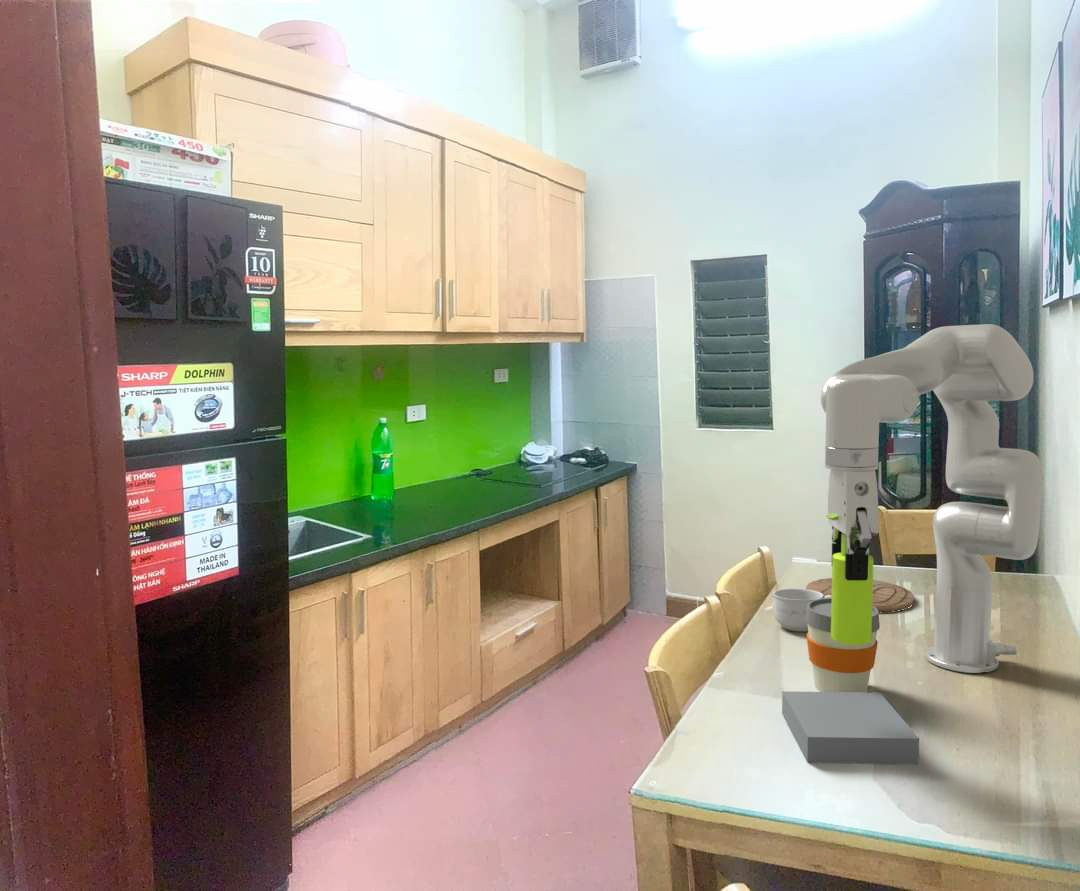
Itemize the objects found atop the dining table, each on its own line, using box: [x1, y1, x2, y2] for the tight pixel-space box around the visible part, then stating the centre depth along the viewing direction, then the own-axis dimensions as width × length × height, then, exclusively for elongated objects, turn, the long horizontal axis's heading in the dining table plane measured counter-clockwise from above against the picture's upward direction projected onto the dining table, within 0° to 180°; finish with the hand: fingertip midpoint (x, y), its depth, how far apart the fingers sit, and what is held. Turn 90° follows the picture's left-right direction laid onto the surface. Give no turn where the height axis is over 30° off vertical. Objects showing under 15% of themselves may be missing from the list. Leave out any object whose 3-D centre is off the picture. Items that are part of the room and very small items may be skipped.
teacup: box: [772, 587, 832, 632], centre depth 173 cm, size 14×11×8 cm
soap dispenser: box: [826, 513, 874, 645], centre depth 120 cm, size 6×7×20 cm
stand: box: [781, 691, 920, 765], centre depth 123 cm, size 16×16×4 cm
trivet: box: [805, 577, 915, 613], centre depth 194 cm, size 25×25×2 cm
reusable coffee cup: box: [805, 598, 881, 692], centre depth 141 cm, size 13×13×15 cm
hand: (849, 572), depth 120 cm, fingers closed on soap dispenser, 5 cm apart
